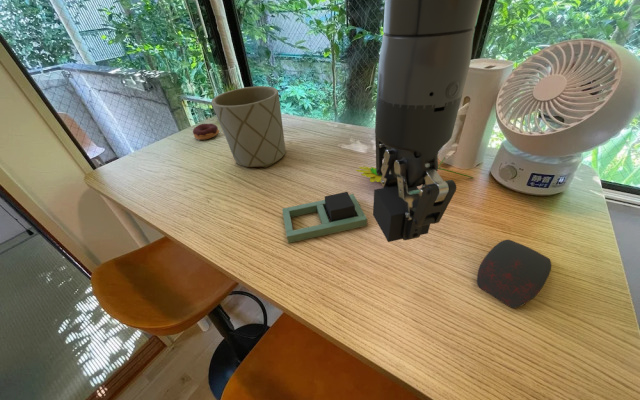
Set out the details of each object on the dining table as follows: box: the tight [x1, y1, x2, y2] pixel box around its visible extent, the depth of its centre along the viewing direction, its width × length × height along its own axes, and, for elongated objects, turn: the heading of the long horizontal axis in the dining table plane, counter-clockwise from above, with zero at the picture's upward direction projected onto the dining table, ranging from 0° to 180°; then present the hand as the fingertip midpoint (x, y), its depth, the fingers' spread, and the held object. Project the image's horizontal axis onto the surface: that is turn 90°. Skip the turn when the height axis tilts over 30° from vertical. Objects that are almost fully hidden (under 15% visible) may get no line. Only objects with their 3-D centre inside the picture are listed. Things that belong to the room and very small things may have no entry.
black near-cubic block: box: [324, 191, 355, 222], centre depth 57 cm, size 5×5×4 cm
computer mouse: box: [476, 239, 552, 309], centre depth 42 cm, size 8×14×4 cm, turn 130°
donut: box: [192, 123, 220, 141], centre depth 103 cm, size 10×10×4 cm
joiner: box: [281, 193, 368, 244], centre depth 57 cm, size 10×18×2 cm, turn 103°
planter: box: [211, 85, 286, 169], centre depth 79 cm, size 19×19×20 cm
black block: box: [372, 185, 431, 243], centre depth 33 cm, size 5×5×4 cm
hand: (399, 221), depth 34 cm, fingers closed on black block, 5 cm apart
